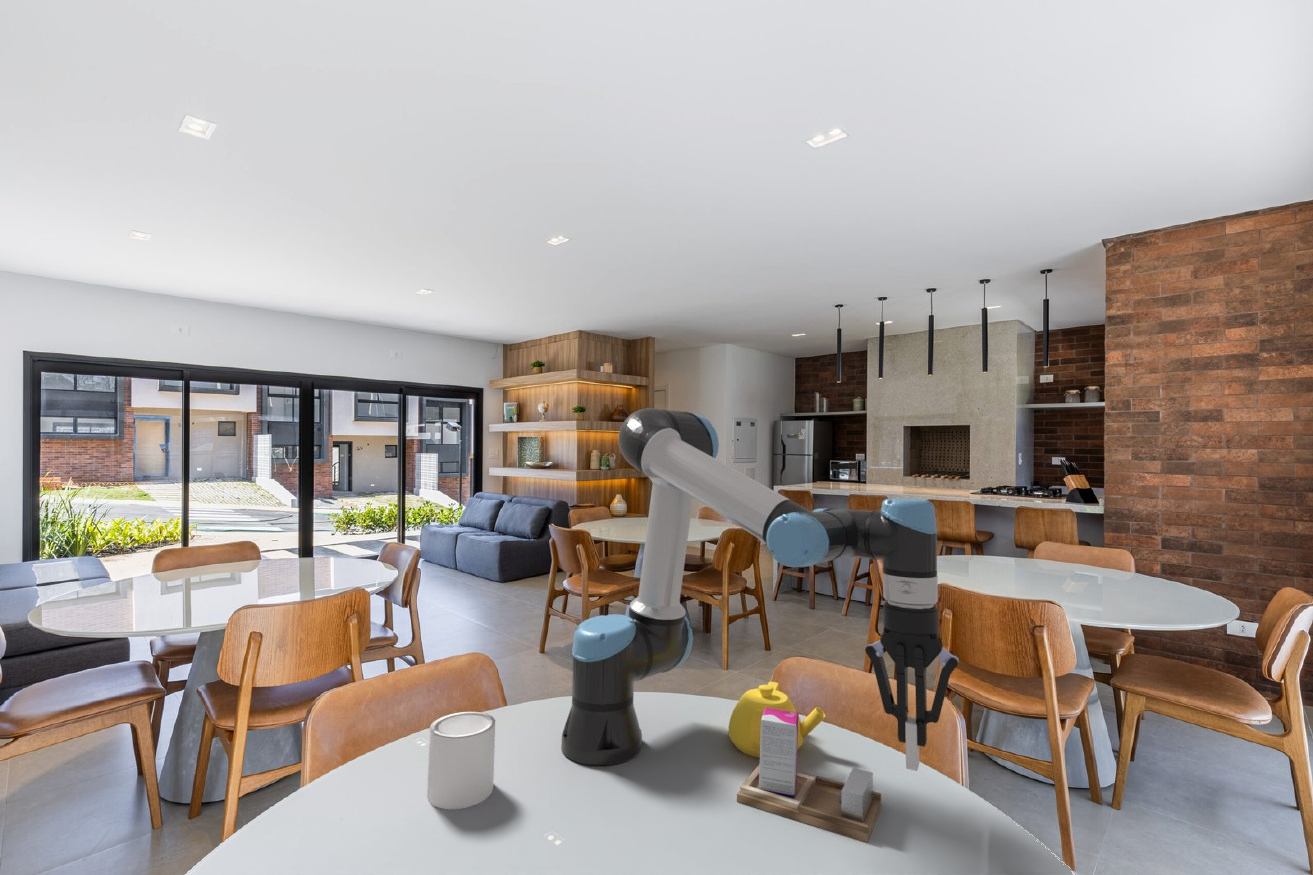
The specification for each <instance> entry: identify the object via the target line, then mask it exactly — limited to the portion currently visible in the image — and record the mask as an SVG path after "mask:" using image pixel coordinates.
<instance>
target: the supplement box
mask: <svg viewBox="0 0 1313 875" xmlns="http://www.w3.org/2000/svg"><path fill="white" fill-rule="evenodd" d="M798 715H799V712H791V711H784V710H777V709H771V708H765V710H764V713H763V716H762V719H761V741H760V758H759V764H760V771H759V789H760V790H764V791H767V792H771V793H774V794H777V795H781V796H784V797H787V798H794V795H795V786H796V782H797V772H798V751H799V749H798Z"/></svg>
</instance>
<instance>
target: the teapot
mask: <svg viewBox="0 0 1313 875" xmlns="http://www.w3.org/2000/svg"><path fill="white" fill-rule="evenodd" d="M765 708H771V709H777V710H784V711H791V712H797V709H796V708H795V706H794V704H793V702H792V701H791V699H790V698H789V696H788V695H787V694H786V693H784V692H782V691H780V684H779V682H776V681H768V683H767V684H760V685H759V686H758V688H751V689H748V690H747V691H745V692H744V694H742V696H741V697H740V699H739V700H738V702H737V703H736V704H735V707H734V708H733V710H732V713H731V715H730V718H729V721H728V722H729V724H728V731H727V732H728V736H729V739H730V740H731V742H732V744H733V745H734V746H735V747H736V748H737V750H739V751H741V752H742V753H744V754H745V755H748V756H751V757H754V758H757V759H758V758H759V759H760V741H761V719H762V716H763V713H764V710H765ZM797 713H798V712H797ZM826 716H827V715H826V714H825V712H824V711H823V710H822V709H821V708H820V707H818V706H816V707H815V708H814V709H813V710H812V711H811V712H810V713H809V714H808V715H807V716H806V718H805V719H804V720H802V721H801V718H800V716H799V715H798V750H799V749H800V748H801V747H802V745H803V743H804V742H805V741H804V740H805V738H806V737H807V736H808V735H809V734H810V733H811V732H812V731H813V730H814V729H815V728H816V727H817V726H818V725H819V724H820V723H822V722H823V720H824V719H826V718H827V717H826Z"/></svg>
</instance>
